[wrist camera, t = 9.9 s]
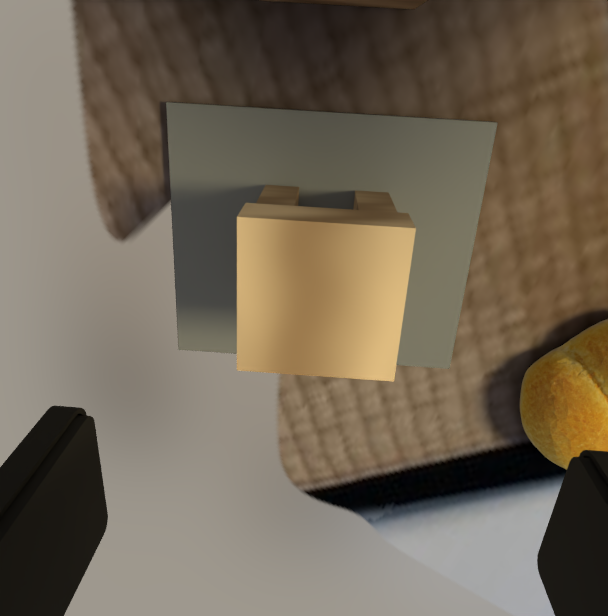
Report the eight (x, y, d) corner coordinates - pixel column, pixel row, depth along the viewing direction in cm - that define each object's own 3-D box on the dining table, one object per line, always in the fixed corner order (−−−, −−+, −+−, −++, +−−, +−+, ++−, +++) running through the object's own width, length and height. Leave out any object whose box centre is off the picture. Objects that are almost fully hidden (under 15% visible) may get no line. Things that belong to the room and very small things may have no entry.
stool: (395, 187, 24) (416, 228, 18) (379, 309, 26) (393, 381, 20) (260, 178, 24) (236, 216, 18) (258, 301, 26) (236, 370, 20)
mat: (494, 121, 23) (497, 122, 22) (447, 364, 28) (449, 368, 27) (168, 101, 23) (166, 102, 23) (180, 345, 28) (178, 349, 28)
